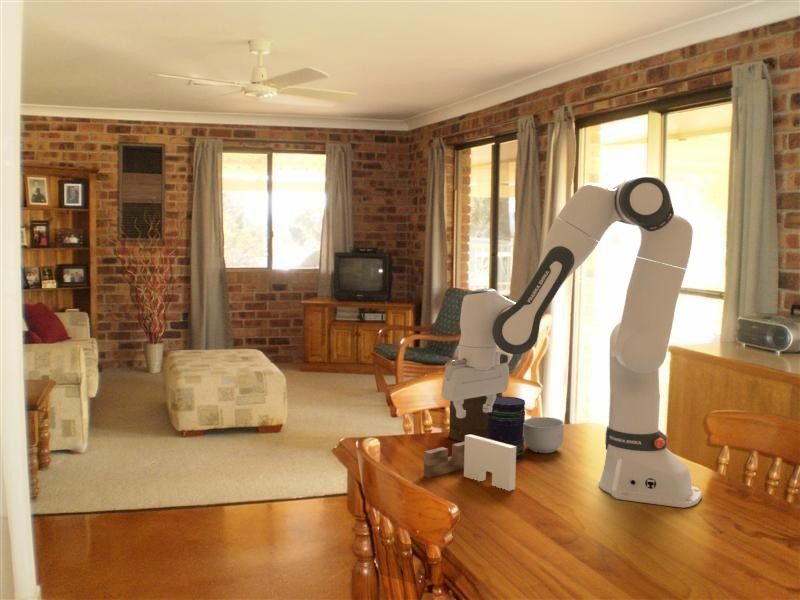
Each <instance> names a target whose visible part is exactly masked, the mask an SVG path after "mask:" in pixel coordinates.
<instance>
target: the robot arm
mask: <svg viewBox="0 0 800 600" xmlns="http://www.w3.org/2000/svg"><path fill="white" fill-rule="evenodd" d="M558 213H559V214H557V217H556V218H555V219H554V220H553V222H552V225H551V227H550V229H549V231H548V232H547V235H546V238H545V241H544V243H543V248H542V252H541V257H540V261H539V264H538V266H537V269H536V270H535V273H534V275H533V276H532V277H531V279H530V281H529V282H528V284H527V286H526V287H525V289H524V290H523V292H522V294H521V295H520V297H519V298H518V300H517V301H516V302H515V301H513V300H511V299H509V298H507V297H506V296H504V295H502V294H501V293H500V292H499V291H498V290H496V289H494V288H479V289H475V290H470V291H468V292H467V293H466V294H465V295H464V296H463V297H462V298H463V299H462V302H461V309H460V315H459V316H460V320H459V328H460V338H459V341H458V359H452V360H450V361H449V363H447V365H446V367H445V371H444V374H443V376H442V377H443V378H442V385H441V397H442V399H443V400H446V401H448V402H449V401H453V404H454V406H455V409H456V417H457V418H464V417H466V410H463V407H462V404H464V399H469V398H475V397H480V396H486V397H487V400H486V403H485V404H484V405H483V412H486V413H490V412H492V405H493V404H494V402H495V400H496V394H497V393H502V394H503V393H506V392H507V390H508V388H509V382H510V381H509V380H510V367H509V365H508V364H509V363H511V362H510V361H511V355H521V354H522V355H523V354H525V353H527V352H529V351H530V350H531V349H533V348H534V346H535V345H536V343H537V341H538V337H539V333H540V327H541V326H540V325H541V321H542V318H543V316H544V314H545V312H546V310H547V309H548V307H550V304H551V303H552V301H553V300H554V298H555V296H556V294H557V293H558V291H559V290H560V289H561V286H562V285H563V284H564V282H565V281H566V280H567V279H568V278H569V277H570V276H571V275H572V274H573V273H574V272H575V271H576V270H578V268H579V267H580V266H582V264H583V263H584V262H585V261H586V260H587V259H588V257H589V256H590V255H591V254H592V253H593V251H594V250H595V248H597V245H598V244H599V242H600V241H601V240H602V238H603V236H604V235H605V233H606V231H607V230H608V229H609V228H610V226H612V225H613V224H615V223H616V222H619V223H623V224H627V225H632V226H637V227H638V229H639V230H640V235H641V237H640V238H641V239H640V245H639V248H638V252H637V256H636V258H635V262H634V265H633V269H632V272H631V276H630V279H629V281H628V286H627V289H626V295H625V302H624V306H623V311H622V316H621V320H620V322H618V323H617V324H616V325H615V326H614V328H613V329H612V331H611V334H610V337H609V410H608V411H609V412H608V425H607V426H606V431H605V450H606V453H605V458H604V459H605V460H604V465H603V470H602V474H601V476H600V479H599V483H598V486H599V488H600V489H601V490H602V491H604V492H606V493H608V494H610V495H611V496H612V498H614V499H617V500H623V501H629V502H630V501H631V502H637V503H645V504H653V505H659V506H668V507H675V508H684V509H685V508H690V507H693V506H695V505H698V503H699V502H700V501H701V500H702V490H701V489H700V488H698V487H697V486H693V485H692V475H691V472H690V468H689V466H687V465H686V464H685V463H684V462H683V461H682V460H680V459H679V458H678V457H677V456H676V455H675V454H674V453H673V452H672V451H671V450H670V449H668V447H667V444H668V439H669V438H668V434H669V433H665V434H664V433H663V432H662V431H660V429H659V425H660V424H659V423H660V402H661V395H660V380H659V368H660V367H661V366H662V365H663V364H664V362H665V360H666V358H667V353H668V347H669V343H670V338H671V334H672V328H673V323H674V317H675V311H676V306H677V302H678V298H679V295H680V291H681V289H682V286H683V282H684V279H685V276H686V272H687V268H688V263H689V259H690V255H691V250H692V244H693V231H694V230H693V226H692V224H691V223H690V222H689V221H688V220H687V219H685V218H684V217H682V216H681V215H677V214H675V212H674V207H673V203H672V199H671V195H670V191H669V189H668V187H667V185H666V184H665V183H664V181H662V180H661V179H660V178H659V177H657V176H654V175H651V174H638V175H634V176H631V177H629V178H627V179H626V180H624V181H623V182H622V183H620V184H618V185H617V186H615V187H613V188H607V187H606V186H604V185H602V184H599V183H595V182H588V183H585V184H582V185H581V186H580V187H579V188H578V189H577V190H576V192H575V193H574V194H572V196H571V197H570V198H569V199H568V201H567V202H566V203H565V204H564V206H563V207H562V209H561V210H560V212H558ZM497 347H498V348H499V349H500V350H502V351H503V352H502V351H500V350H497Z"/></svg>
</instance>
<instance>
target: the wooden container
mask: <svg viewBox="0 0 800 600" xmlns="http://www.w3.org/2000/svg"><path fill="white" fill-rule="evenodd" d="M501 396H503V393H497V394H496V397H501ZM486 400H487V397H486V396H480V397H475V398H469V399H464V404H462V407H463V410H466V417H464V418H457V417H456V409H455V406H454V404H453V401H450V402H449V428H448V429H449V438H451V439H452V440H453V441H456V442H459V441H461V442H464V441H465V435H469V434H471V435H475V436H479V437H483V438H486V435H487V434H488V421H487V413H486V412H483V405H484V404H485V403H486Z"/></svg>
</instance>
